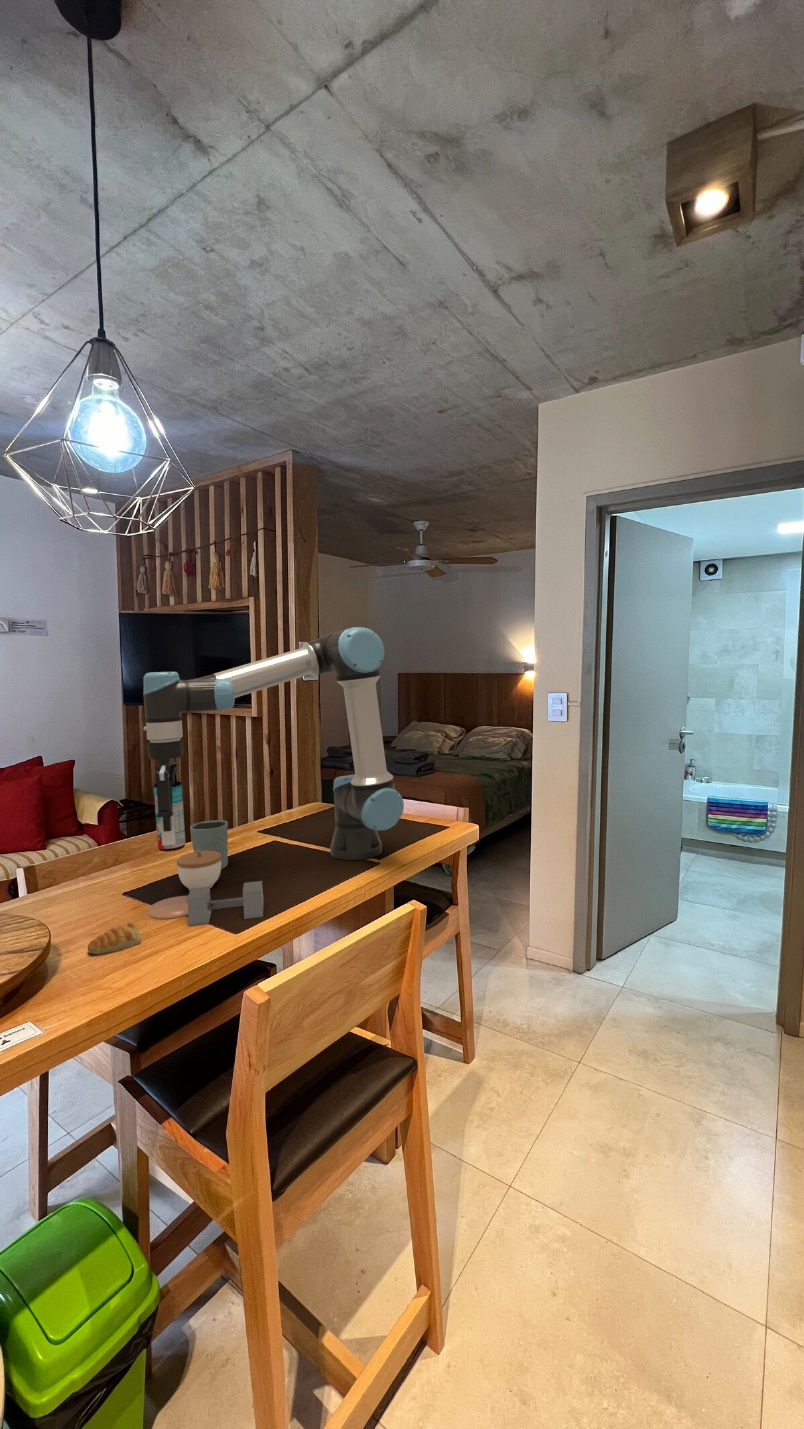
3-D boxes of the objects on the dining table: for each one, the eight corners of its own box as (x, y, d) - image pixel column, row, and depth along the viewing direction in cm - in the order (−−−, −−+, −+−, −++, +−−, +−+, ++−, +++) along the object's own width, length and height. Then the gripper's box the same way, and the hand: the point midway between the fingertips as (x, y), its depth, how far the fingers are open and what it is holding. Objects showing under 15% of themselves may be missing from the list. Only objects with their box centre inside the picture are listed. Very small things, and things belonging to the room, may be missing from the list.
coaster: (206, 895, 143) (206, 893, 143) (200, 915, 131) (200, 912, 131) (153, 901, 140) (153, 899, 140) (142, 922, 129) (142, 919, 129)
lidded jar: (168, 892, 146) (166, 855, 146) (198, 877, 156) (196, 843, 156) (203, 896, 142) (201, 859, 142) (231, 881, 152) (229, 846, 152)
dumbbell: (263, 901, 138) (262, 876, 138) (262, 916, 129) (261, 890, 129) (194, 909, 135) (192, 883, 135) (188, 925, 126) (187, 898, 126)
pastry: (94, 961, 112) (93, 942, 112) (82, 950, 117) (81, 932, 117) (144, 943, 119) (143, 925, 118) (131, 934, 123) (130, 916, 123)
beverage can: (173, 843, 139) (169, 780, 138) (191, 846, 136) (187, 782, 135) (152, 850, 133) (147, 785, 132) (170, 853, 131) (166, 787, 130)
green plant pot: (212, 874, 158) (209, 830, 157) (184, 870, 163) (181, 827, 162) (237, 862, 168) (235, 821, 167) (210, 858, 172) (208, 818, 171)
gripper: (155, 736, 141) (161, 831, 143) (137, 746, 123) (145, 854, 125) (188, 735, 143) (194, 828, 145) (175, 744, 124) (182, 850, 126)
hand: (171, 840), depth 135 cm, fingers closed on beverage can, 6 cm apart
